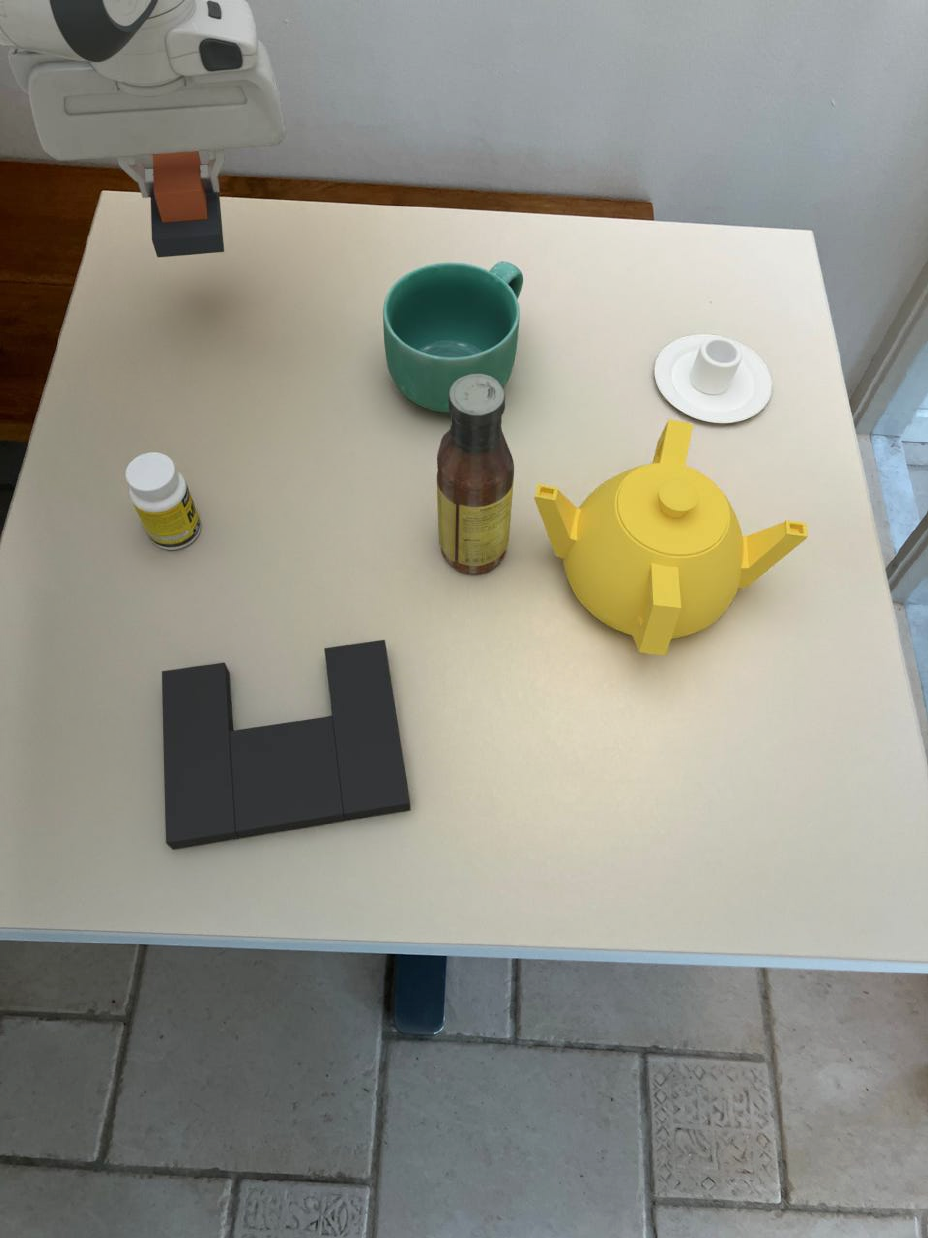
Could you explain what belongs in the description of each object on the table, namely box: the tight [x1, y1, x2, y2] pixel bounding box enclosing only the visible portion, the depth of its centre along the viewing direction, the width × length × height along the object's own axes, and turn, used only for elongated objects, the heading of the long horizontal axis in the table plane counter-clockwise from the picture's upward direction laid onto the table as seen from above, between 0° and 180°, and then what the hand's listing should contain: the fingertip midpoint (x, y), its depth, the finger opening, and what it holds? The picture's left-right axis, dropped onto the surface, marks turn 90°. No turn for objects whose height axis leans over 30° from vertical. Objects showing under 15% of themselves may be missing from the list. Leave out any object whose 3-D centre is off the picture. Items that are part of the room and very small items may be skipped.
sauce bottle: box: [436, 374, 515, 575], centre depth 71 cm, size 7×6×20 cm
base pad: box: [161, 639, 411, 850], centre depth 70 cm, size 18×14×2 cm
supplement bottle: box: [125, 451, 202, 551], centre depth 76 cm, size 5×5×8 cm
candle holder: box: [653, 333, 773, 424], centre depth 89 cm, size 12×12×4 cm
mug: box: [382, 260, 524, 414], centre depth 86 cm, size 17×13×10 cm
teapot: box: [534, 418, 809, 656], centre depth 74 cm, size 17×17×12 cm
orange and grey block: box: [149, 151, 225, 259], centre depth 81 cm, size 6×10×5 cm, turn 10°
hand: (182, 190), depth 80 cm, fingers closed on orange and grey block, 4 cm apart
